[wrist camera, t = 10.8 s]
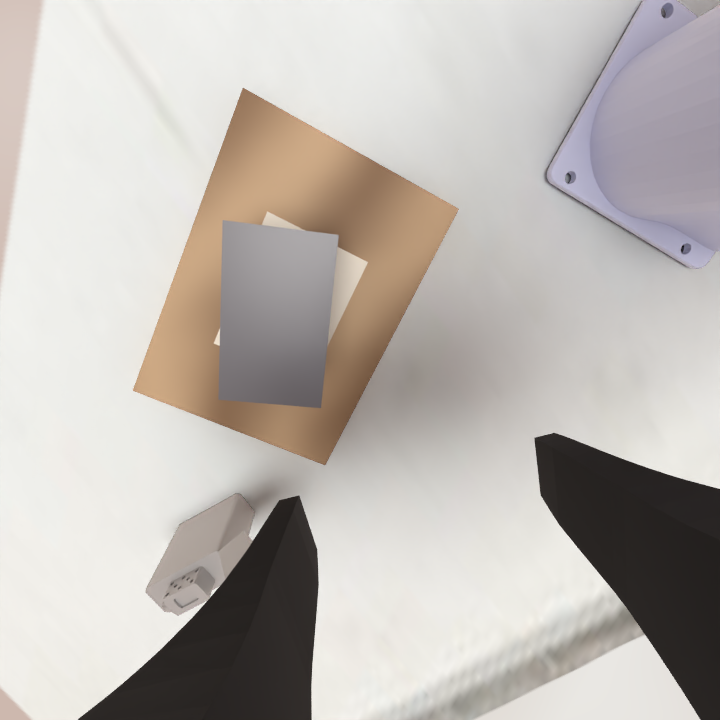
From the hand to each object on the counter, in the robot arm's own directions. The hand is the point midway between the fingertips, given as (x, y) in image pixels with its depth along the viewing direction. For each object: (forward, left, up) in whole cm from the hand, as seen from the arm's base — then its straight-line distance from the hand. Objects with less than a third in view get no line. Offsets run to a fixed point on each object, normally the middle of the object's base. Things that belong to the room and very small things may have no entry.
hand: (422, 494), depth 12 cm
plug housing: (+6, -2, -8) cm, 10 cm away
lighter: (+4, +10, -10) cm, 14 cm away
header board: (+6, -2, -9) cm, 11 cm away
